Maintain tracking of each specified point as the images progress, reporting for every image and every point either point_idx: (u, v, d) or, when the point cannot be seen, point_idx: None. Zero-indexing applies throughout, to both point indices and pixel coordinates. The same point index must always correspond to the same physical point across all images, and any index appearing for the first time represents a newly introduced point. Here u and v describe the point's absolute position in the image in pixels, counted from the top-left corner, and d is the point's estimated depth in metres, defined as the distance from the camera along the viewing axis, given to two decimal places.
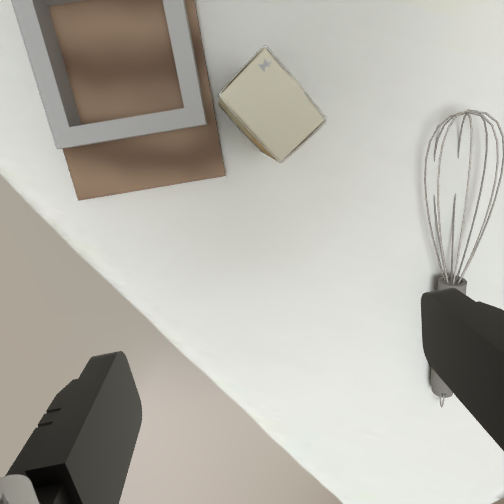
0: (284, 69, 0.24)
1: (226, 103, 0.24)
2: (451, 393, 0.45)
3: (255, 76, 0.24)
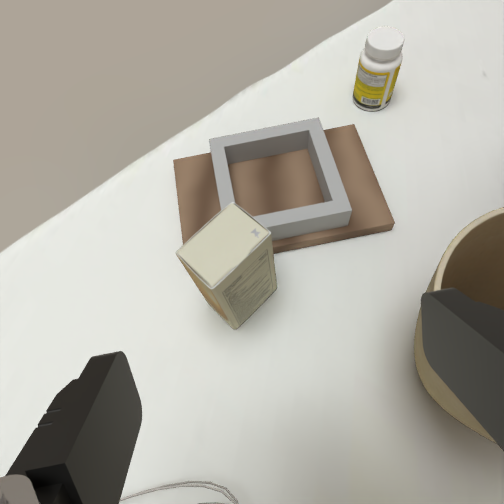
0: (253, 249, 0.28)
1: (226, 207, 0.29)
2: None
3: (246, 226, 0.28)
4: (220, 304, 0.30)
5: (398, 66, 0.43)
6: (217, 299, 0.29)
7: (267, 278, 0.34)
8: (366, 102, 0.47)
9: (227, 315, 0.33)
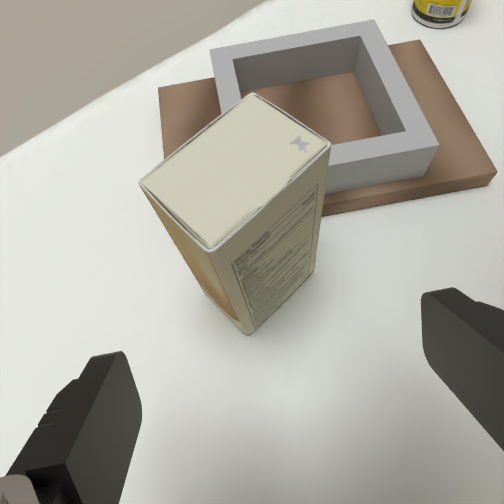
0: (296, 174, 0.13)
1: (239, 103, 0.15)
2: None
3: (281, 132, 0.14)
4: (226, 289, 0.16)
5: None
6: (221, 278, 0.15)
7: (306, 248, 0.20)
8: (435, 12, 0.33)
9: (237, 311, 0.19)
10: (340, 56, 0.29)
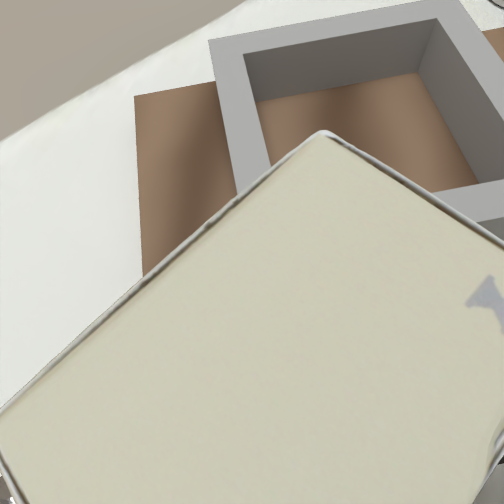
0: None
1: (290, 158, 0.06)
2: None
3: (428, 259, 0.05)
4: None
5: None
6: None
7: None
8: None
9: None
10: (402, 50, 0.20)
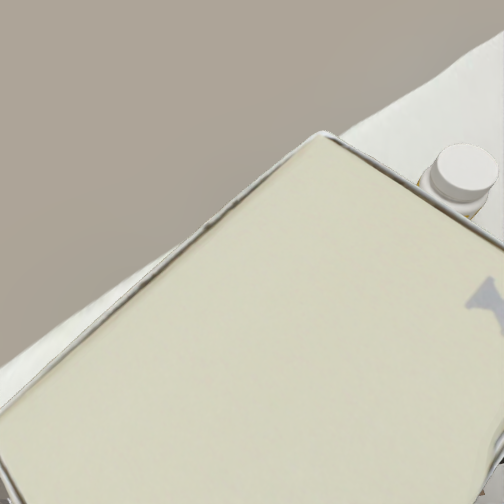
0: None
1: (289, 159, 0.06)
2: None
3: (427, 261, 0.05)
4: None
5: None
6: None
7: None
8: None
9: None
10: None
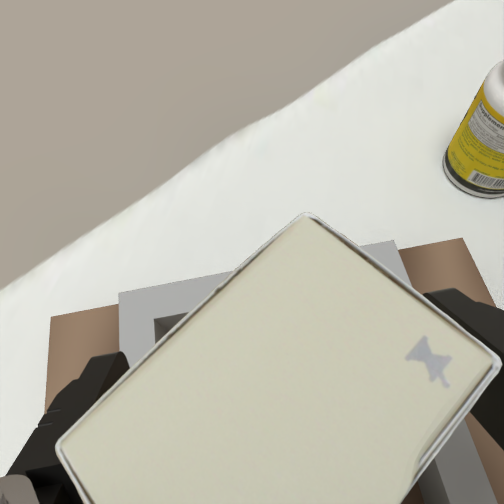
0: (429, 449, 0.06)
1: (281, 235, 0.07)
2: None
3: (380, 323, 0.06)
4: None
5: None
6: None
7: None
8: (482, 182, 0.22)
9: None
10: None
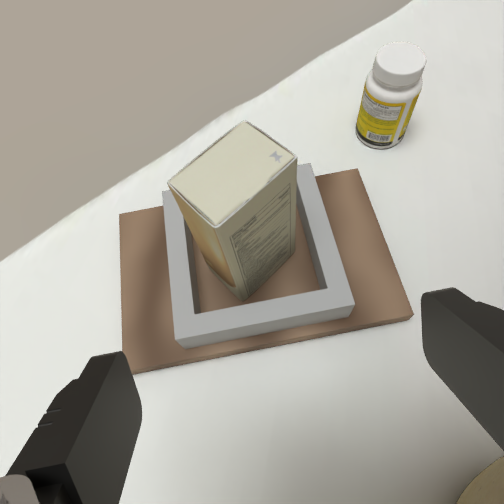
0: (273, 177, 0.20)
1: (235, 127, 0.22)
2: None
3: (263, 148, 0.21)
4: (226, 257, 0.22)
5: (417, 94, 0.32)
6: (222, 248, 0.21)
7: (286, 232, 0.27)
8: (373, 138, 0.36)
9: (234, 277, 0.25)
10: None
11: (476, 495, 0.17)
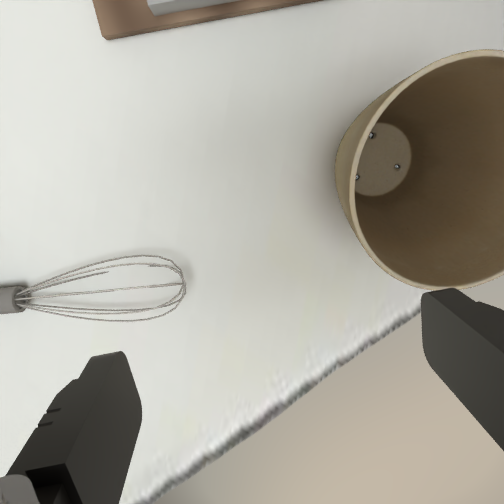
0: None
1: None
2: None
3: None
4: None
5: None
6: None
7: None
8: None
9: None
10: None
11: (356, 118, 0.29)
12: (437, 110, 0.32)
